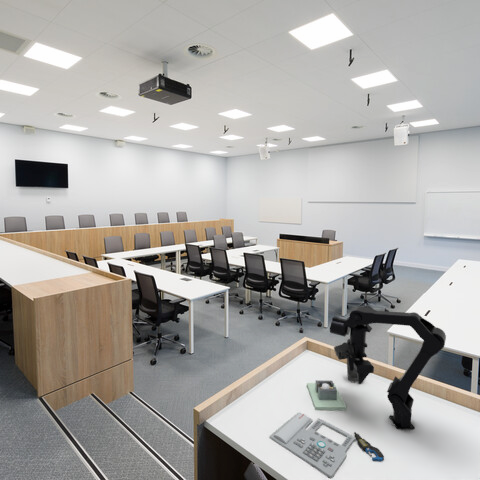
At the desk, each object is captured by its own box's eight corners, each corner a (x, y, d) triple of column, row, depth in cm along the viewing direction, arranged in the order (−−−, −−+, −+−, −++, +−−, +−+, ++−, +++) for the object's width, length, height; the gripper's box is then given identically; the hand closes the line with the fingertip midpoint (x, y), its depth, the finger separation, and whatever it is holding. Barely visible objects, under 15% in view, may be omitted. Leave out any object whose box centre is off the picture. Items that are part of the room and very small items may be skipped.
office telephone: (268, 432, 109) (300, 405, 124) (268, 439, 110) (300, 411, 124) (331, 472, 94) (359, 435, 108) (331, 480, 94) (359, 442, 108)
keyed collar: (336, 399, 128) (337, 390, 128) (319, 399, 128) (319, 390, 128) (331, 389, 135) (332, 380, 135) (315, 389, 135) (315, 380, 135)
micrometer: (385, 456, 100) (371, 459, 99) (385, 462, 101) (371, 464, 100) (364, 429, 112) (351, 430, 111) (364, 433, 112) (351, 435, 111)
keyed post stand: (346, 410, 124) (346, 397, 123) (315, 409, 124) (315, 397, 123) (334, 385, 140) (334, 374, 139) (306, 385, 140) (307, 374, 139)
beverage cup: (348, 372, 150) (350, 332, 147) (363, 378, 145) (366, 337, 142) (342, 379, 144) (344, 337, 141) (358, 385, 140) (360, 342, 137)
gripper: (330, 329, 132) (328, 364, 134) (344, 351, 114) (342, 391, 116) (356, 329, 132) (354, 364, 134) (375, 351, 114) (373, 391, 116)
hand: (355, 377), depth 125 cm, fingers open, 9 cm apart
